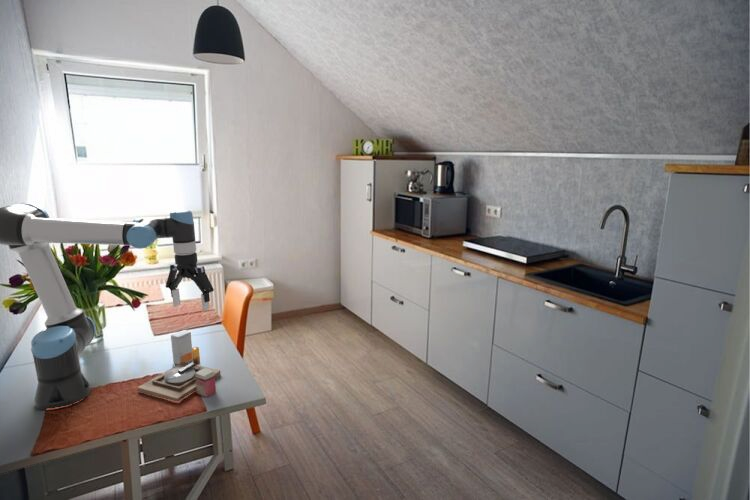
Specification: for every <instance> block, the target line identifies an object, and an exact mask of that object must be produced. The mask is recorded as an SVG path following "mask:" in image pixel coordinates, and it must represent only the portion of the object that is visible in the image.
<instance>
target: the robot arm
mask: <svg viewBox="0 0 750 500" xmlns="http://www.w3.org/2000/svg"><path fill="white" fill-rule="evenodd" d="M170 238H171V239H172V244H173V246H172V247H173V253H174V263H173V264H170V265H169V273H168V276H167V279H166V283H165V288H166V289H169V290H170V295H171V296H170V297H171V298H172V303H173V308H176V307H179V306H181V298H180V297H181V296H180V288H179V287H178V286H179V285H180V283H181V282H182V281H183V279H185V278H186V279H190V280H191V281H193V282H194V284H195V285H196V286H197V288H198V289H199V290H200V292H201V294H200V298H201V309H202V312H206V311H208V310H210V301H211V299H210V298H211V297H210V293H212V292H214V290H215V289H214V287H213V285H212V283H211V281H210V279H209V277H208V275H207V273H206V269H205V267H204V266H198V265H197V263H198V253H197V252H196V251H197V244H196V243H197V242H196V232H195V221H194V216H193V213H192V211H191V210H189V209H179V210H171V211H170V212H169V215H168V216H157V217H156V216H155V217H153V216H152V217H146V216H145V217H137V218H134V219H133V220H132V221H131V222H127V221H126V222H125V221H110V220H106V221H105V220H92V219H91V220H87V219H67V218H51V217H50V216H49V214H48V212H47V211H46V210H45V209H44V208H43V207H41V206H39V205H37V204H34V203H30V202H21V203H14V204H11V205H7V206H3V207H0V245H4V246H8V247H9V249H10V250H11V251H13V252H16V253H18V255H19V257H20V260H21V262H22V264H23V266H24V268H25V271H26V273H27V275H28V277H29V279H30V282H31V284H32V285H33V288H34V290H35V293H36V295H37V297H38V298H39V301H40V303H41V306H42V308H43V310H44V313H45V314H46V316H47V318H46V320H45V322H44V325H45V327H46V329H45V330H41V331H39V332H38V333H36V334H35V335H34V336H33V337H32V339H31V342H30V343H31V346H30V347H31V348H30V349H31V350H30V351H31V354H32V357H33V358H32V359H33V363H34V368H35V373H36V377H37V386H36V390H35V396H34V405H35V408H36V409H37V410H40V411H44V410H46V409H47V408H55V407H61V406H66V405H70V404H73V403H75V402H77V401H80V400H81V399H83V398H85V397H86V396H87V395H88V394H89V393H90V394H91V387H90V386H91V385H90V383H89V382H88V380H87V379H86V377H85V375H84V374H83V372H82V370H81V369H82V368H81V362H80V354H82V352H83V351H84V350H85V348H87V347H88V346H89V345H90V344H91V343H92V341H93V340H94V337H95V335H96V332H97V331H96V330H97V327H96V324H95V321H94V320H93V319H92V318H91V317H90V316H87V315H86V314H85V312H84V309H82V308H79V307H77V306H76V304H75V302H74V299H73V297H72V294H71V292H70V290H69V288H68V286H67V283H66V281H65V279H64V276H63V274H62V272H61V269H60V267H59V265H58V262H57V260H56V257H55V256H54V253H53V251H52V249H51V247H50V243H51V244H80V245H83V244H84V245H102V246H103V245H104V246H105V245H106V246H107V245H109V246H110V245H111V246H131V247H133V248H135V249H145V248H149V247H150V246H151V245H153V244H154V242H155V241H156V240H157V239H170ZM90 394H89V395H90ZM89 395H88V396H89ZM88 396H87V397H88ZM87 397H86V398H87ZM86 398H85V399H86Z"/></svg>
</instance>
